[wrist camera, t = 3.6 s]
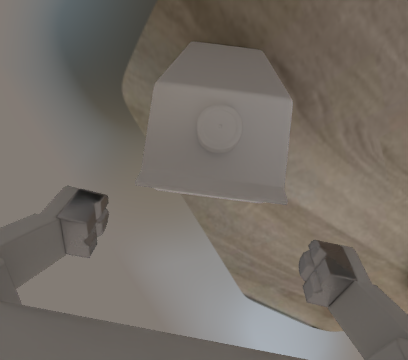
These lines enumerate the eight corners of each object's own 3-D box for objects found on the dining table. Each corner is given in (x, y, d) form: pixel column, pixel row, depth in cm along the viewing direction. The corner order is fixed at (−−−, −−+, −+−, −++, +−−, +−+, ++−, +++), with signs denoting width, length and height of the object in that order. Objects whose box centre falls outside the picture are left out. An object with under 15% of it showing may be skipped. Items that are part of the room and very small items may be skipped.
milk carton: (248, 118, 29) (268, 252, 14) (186, 110, 29) (138, 235, 14) (262, 49, 25) (314, 132, 10) (190, 40, 25) (129, 108, 10)
